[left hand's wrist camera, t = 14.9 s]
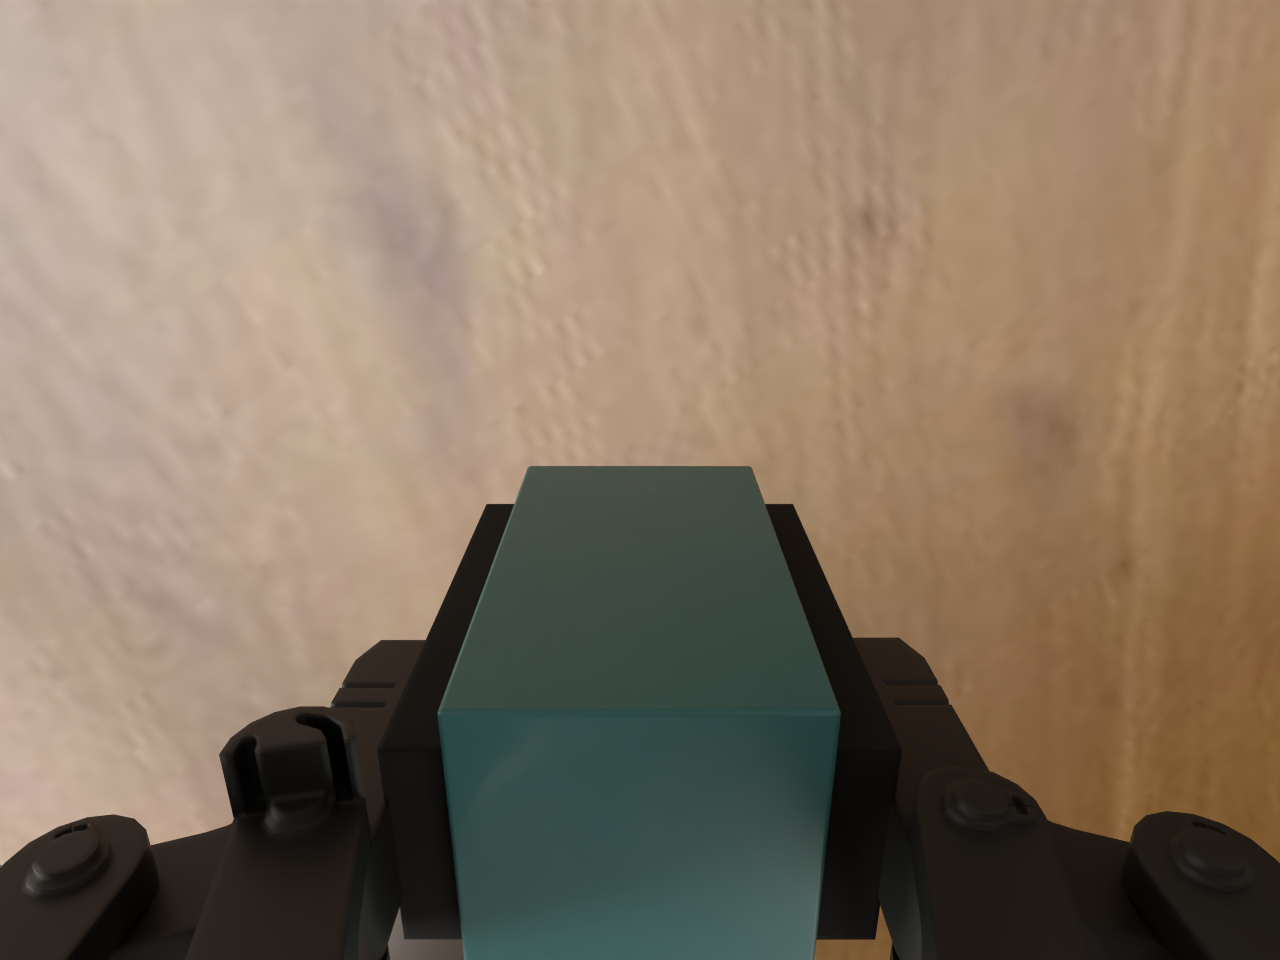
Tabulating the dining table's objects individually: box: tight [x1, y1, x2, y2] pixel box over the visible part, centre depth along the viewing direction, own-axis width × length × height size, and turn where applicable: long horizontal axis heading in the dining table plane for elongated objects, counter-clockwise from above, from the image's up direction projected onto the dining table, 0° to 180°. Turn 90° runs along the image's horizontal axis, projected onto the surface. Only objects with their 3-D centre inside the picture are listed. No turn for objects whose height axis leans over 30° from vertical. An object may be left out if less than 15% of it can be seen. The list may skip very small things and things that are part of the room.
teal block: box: [438, 466, 841, 960], centre depth 12 cm, size 4×4×7 cm
